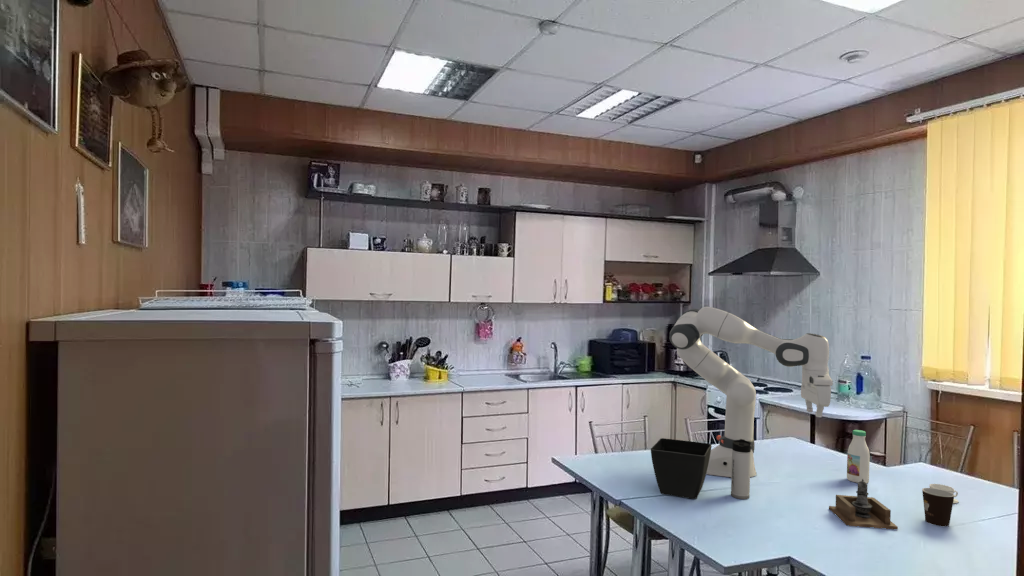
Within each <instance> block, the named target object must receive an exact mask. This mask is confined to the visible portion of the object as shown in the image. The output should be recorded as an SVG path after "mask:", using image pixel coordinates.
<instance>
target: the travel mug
mask: <svg viewBox="0 0 1024 576" xmlns="http://www.w3.org/2000/svg"><path fill="white" fill-rule="evenodd" d="M750 461H751V443H750V442H748V441H745V440H744V439H740V440H734V441H733V448H732V475H731V477H730V478H731V479H730V483H731V484H730V485H731V486H730V496H731V497H732V498H734V499H737V500H748V499H750V496H751V495H750V490H751V485H750V484H751V477H750Z"/></svg>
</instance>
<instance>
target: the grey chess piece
mask: <svg viewBox="0 0 1024 576" xmlns="http://www.w3.org/2000/svg"><path fill="white" fill-rule="evenodd" d="M855 492H856V494H857V495H856V496H857V500H856V501H853V502H852V504H853V506H854V507H855V510H856V511H855V516H857V517H861V518H871V516H870V515H869V514H868V512H870V510H871V508H872V505H871V504H869V503H868V500H867V497H868V496H869V492H868V483H865V482H864V480H863V479H862V481H861V482H858V483H857V490H856V491H855Z"/></svg>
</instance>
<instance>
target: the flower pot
mask: <svg viewBox="0 0 1024 576" xmlns="http://www.w3.org/2000/svg"><path fill="white" fill-rule="evenodd" d="M712 447H713V446H712V444H711V443H706V442H701V441H700V442H698V441H691V440H681V439H671V438H664V437H661V438H659V439H658V441H657V442H656V443H655V444H653V446H652V447H651V448H650V456H651V457H650V458H651V462H652V467H653V473H654V476H655V479H656V483H657V486H658V490H659V493H660V494H661V495H667V496H673V497H678V498H679V497H680V498H686V499H692V500H697V499H698V497H699V495H700V492H701V491H702V488H703V485H704V483H705V479H706V476H707V474H706V473H707V468H708V464H709V459H710V453H711V450H712Z"/></svg>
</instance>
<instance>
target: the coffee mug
mask: <svg viewBox="0 0 1024 576" xmlns="http://www.w3.org/2000/svg"><path fill="white" fill-rule="evenodd" d="M921 491H922V492H921V493H922V499H923V501H922V502H923V509H924V518H925V519H924V521H925V522H927V523H928V524H930V525H932V526H935V527H936V526H937V527H946V528H947V527H949V526H950V523H951V517H952V511H953V505H954V503H953V501H954V499H955V497H954V495H955V493H951V492H948V491H945V490H941V489H935V488H930V487H924V488H922V489H921Z"/></svg>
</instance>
